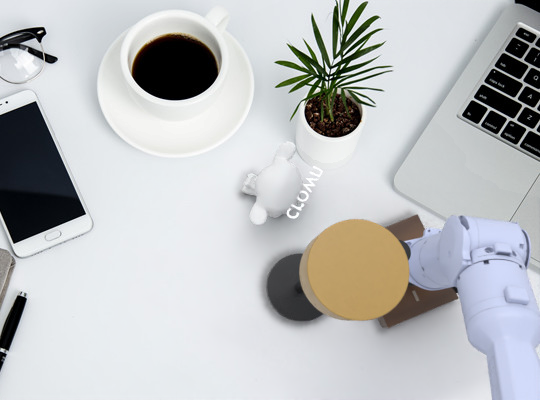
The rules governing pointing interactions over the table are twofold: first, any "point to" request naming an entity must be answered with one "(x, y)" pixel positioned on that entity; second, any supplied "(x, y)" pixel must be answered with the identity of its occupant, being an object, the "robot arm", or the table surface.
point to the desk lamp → (342, 274)
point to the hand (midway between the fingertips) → (407, 269)
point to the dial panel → (415, 297)
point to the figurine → (277, 187)
